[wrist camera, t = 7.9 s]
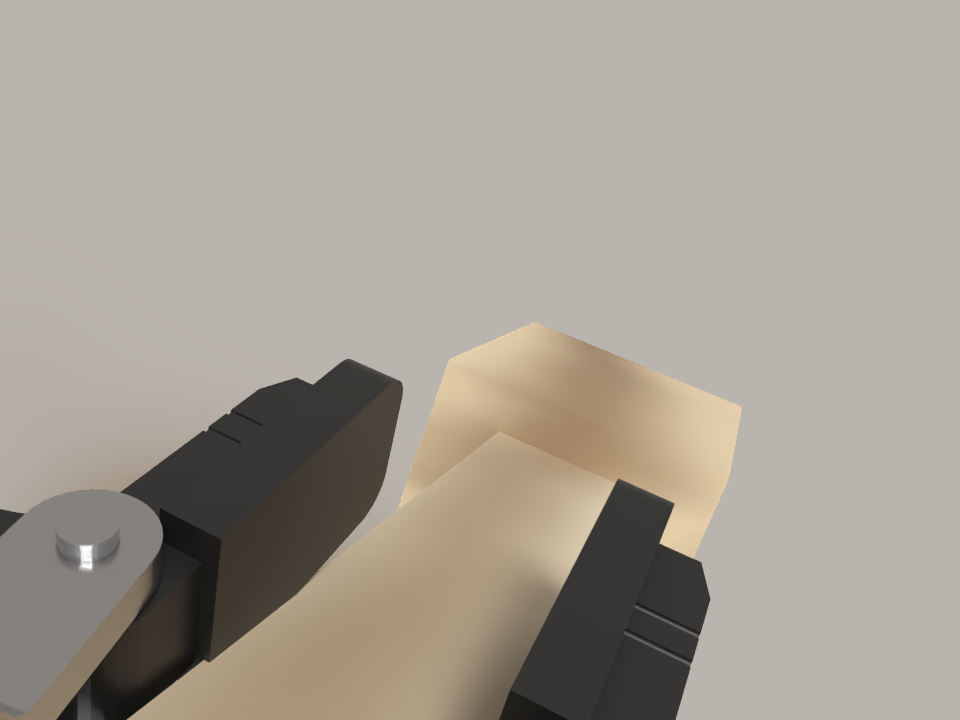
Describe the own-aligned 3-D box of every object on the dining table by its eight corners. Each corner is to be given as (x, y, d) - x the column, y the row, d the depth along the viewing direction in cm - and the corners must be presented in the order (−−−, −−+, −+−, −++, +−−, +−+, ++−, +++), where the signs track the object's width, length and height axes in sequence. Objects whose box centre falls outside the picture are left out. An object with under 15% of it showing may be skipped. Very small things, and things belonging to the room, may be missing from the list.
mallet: (670, 569, 25) (742, 406, 24) (322, 1721, 6) (597, 1194, 5) (476, 480, 27) (534, 321, 25) (-317, 1176, 7) (-238, 659, 6)
